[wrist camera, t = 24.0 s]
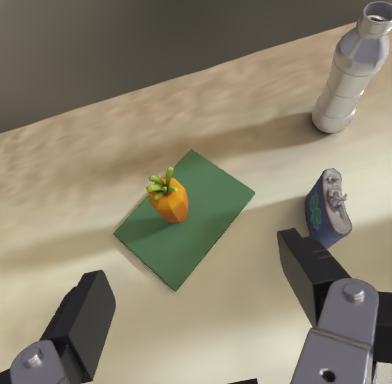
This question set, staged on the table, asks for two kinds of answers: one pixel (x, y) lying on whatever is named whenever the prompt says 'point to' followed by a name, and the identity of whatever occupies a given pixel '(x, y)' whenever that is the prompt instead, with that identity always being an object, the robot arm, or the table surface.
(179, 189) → the carrot
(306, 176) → the table surface
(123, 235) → the green mat
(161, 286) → the table surface
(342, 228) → the flask
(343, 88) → the plastic bottle
